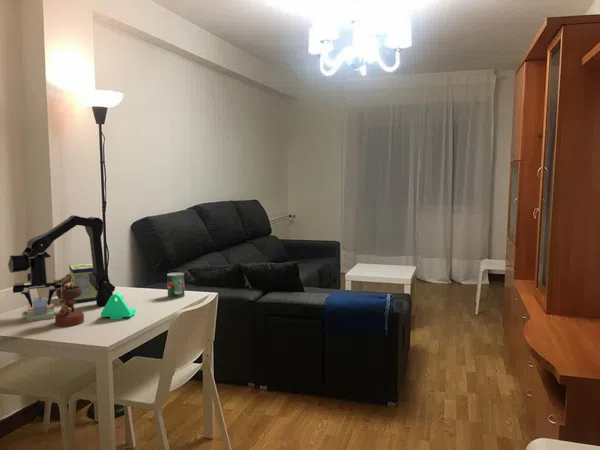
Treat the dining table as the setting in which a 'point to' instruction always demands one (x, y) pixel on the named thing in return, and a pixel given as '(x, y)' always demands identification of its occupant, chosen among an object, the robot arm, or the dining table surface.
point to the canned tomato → (175, 285)
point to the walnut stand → (47, 307)
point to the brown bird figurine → (68, 304)
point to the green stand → (40, 317)
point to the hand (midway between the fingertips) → (40, 306)
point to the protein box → (83, 281)
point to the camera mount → (117, 308)
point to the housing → (40, 306)
